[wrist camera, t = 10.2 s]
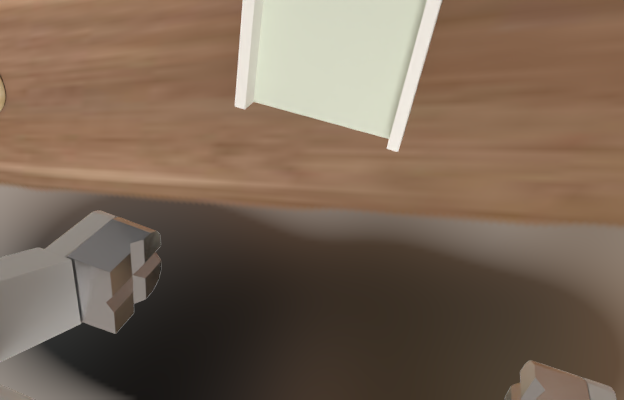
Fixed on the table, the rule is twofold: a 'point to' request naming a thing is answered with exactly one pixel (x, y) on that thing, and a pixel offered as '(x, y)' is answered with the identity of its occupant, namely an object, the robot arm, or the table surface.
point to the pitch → (336, 60)
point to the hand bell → (2, 94)
